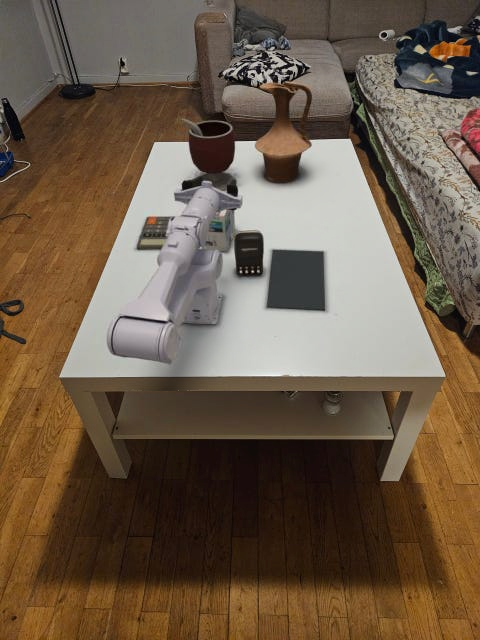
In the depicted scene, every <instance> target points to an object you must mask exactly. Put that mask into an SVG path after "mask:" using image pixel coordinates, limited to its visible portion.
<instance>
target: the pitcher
mask: <svg viewBox="0 0 480 640" xmlns="http://www.w3.org/2000/svg"><path fill="white" fill-rule="evenodd" d="M259 89H260V90H264V91H267V92H268V93H270V94H271V95H272V97H273V100H274V104H275V117H274V121H273V124H272V126H271V127H270V129H269V131H267V132H266V134H264V135H263V136H262V137H260V138H258V139H257V140H256V142H255V143H254V148H255V150H257V151H258V152H259V153H262V156H263V164H264V165H263V166H264V177H265V179H267V180H268V181H271V182H272V183H273V182H274V183H288V182H292V181H294V180H295V179H296V178H298V176H299V170H300V164H301V163H300V162H301V158H302V154H303V153H304V152H306V151H307V150H308V149H310V148H311V147H312V146H313V145H312V142H311V140H310V139H309V136H308V135H307V131H306V123H307V120H308V115H309V113H310V109H311V106H312V101H313V93H312V90H311V88H310V87H309V86H308V85H307V84H304V83H301V82H294V81H293V82H292V81H288V80H287V81H286V80H285V81H284V84H282V83H279V82H266V83H263V84H260V85H259ZM299 90H300V91H302V92H304V93H305V95H306V102H305V106H304V109H303V113H302V116H301V121H300V133H299V132H298V131H297V130H296V129H295V127H294V126H293V124H292V121H291V117H290V103H291V101H292V99H293V98H294V96H295V95H296V93H297V92H298V91H299Z"/></svg>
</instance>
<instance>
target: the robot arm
mask: <svg viewBox="0 0 480 640" xmlns="http://www.w3.org/2000/svg"><path fill="white" fill-rule="evenodd" d="M173 197H174V202H177V203H178V202H179V203H182V204H184V205H186V206H185V207H184V209H183V211H182V212H181V214H180V215H172V217H171V218H170V220H169V223H168V228H167V232H166V241H165V243H164V245H163V247H162V249H160V251H159V252H158V255H157V258H156V263H157V265H158V267H157V269H156V270H155V272H154V274H153V275H152V277H151V278H150V279H149V281H148V282H147V283H146V285H145V287H144V289H142V292H141V293H140V295H138V297H137V299H134V300H133V301H131V302H129V303H127V304H126V305H124V306H122V307H121V308H120V310H119V312H118V315H117V316H115V318H113V320H111V322H110V324H109V326H108V328H107V331H106V346H107V349H108V351H109V353H110V354H111V355H113V356H116V357H121V358H131V359H137V360H138V359H139V360H145V361H151V362H158V363H162V364H167V365H172V363H173V361H174V360H175V358H176V355H177V354H178V352H179V351H178V350H179V349H180V347H181V344H182V341H183V340H182V339H183V338H182V336H181V334H180V331H179V330H180V328H181V325H182V324H196V325H197V324H199V325H217V323H218V318H219V313H220V309H221V303H222V299H223V295H222V294H218V287H217V281H218V279H219V278H220V277H221V275H222V272H223V265H224V264H223V262H224V260H223V259H224V258H223V254H222V251H219V250H207V249H203V247H204V246H205V243H206V238H207V234H208V232H209V224H210V222H211V221H212V219H213V217H214V215H215V213H216V212H219V211H223V210H234V211H236V210H237V209H241V208H242V206H243V195H242V194H239V188H238V185H237V179H233V180H232V181H231V183H230V184H229V185H227V190H226V192H225V191H221V190H219V189H216V188H214V187H213V186H212V183H211V182H210V181H203V176H201V175H199V176H197V177H195V178H193V179H188V180H185V179H184V180H183V181H182V182H181V188H176V189H175V191H174V192H173ZM175 216H176V217H175Z"/></svg>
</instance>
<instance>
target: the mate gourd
mask: <svg viewBox="0 0 480 640" xmlns="http://www.w3.org/2000/svg"><path fill="white" fill-rule="evenodd" d="M180 120H181V122H182V123H184V124H186V125H187V126H188V127H189V129H188V148H189V149H188V151H189V154H190V158H191V161H192V164H193V165H194V166H195V167H196V168H197V169H198V171H199V172H202V173H203V174H200V176H203V181H210V182H211V183H212V186H213V187H214V188H216V189H219V190H221V191H223V192H225V191H227V185H229V184H230V183H231V181H232V180H233V179H234V177H233V175H231V174H229V173H227V172H225V171H227V170H228V169H229V168H230V167H231V165H232V164H233V162H234V160H235V153H236V139H235V133H234V130H233V125H232V124H230V123H229V122H226V121H223V120H204V121H200V122H197V123H195V122H193V121H190V120H188V119H186V118H181V119H180Z"/></svg>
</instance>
